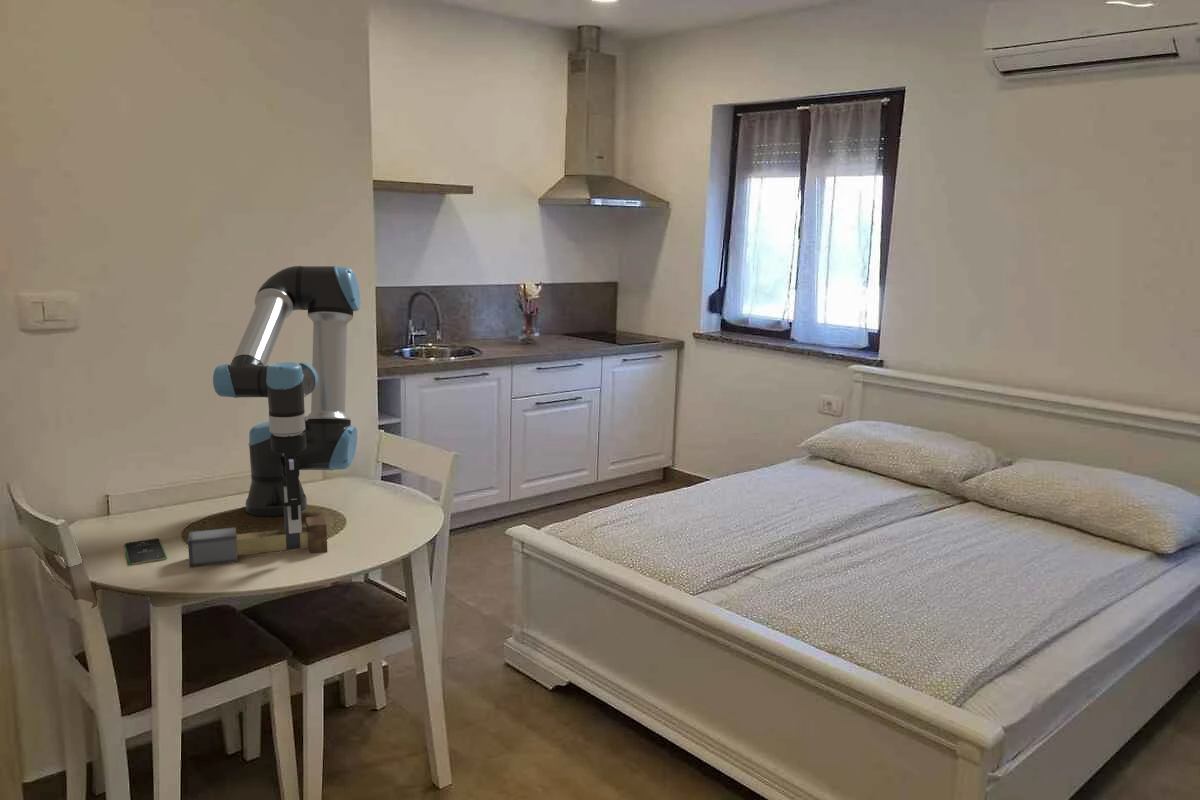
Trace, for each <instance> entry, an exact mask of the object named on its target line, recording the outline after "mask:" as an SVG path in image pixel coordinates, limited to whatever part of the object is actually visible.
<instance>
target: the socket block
mask: <svg viewBox="0 0 1200 800" xmlns="http://www.w3.org/2000/svg"><path fill="white" fill-rule="evenodd" d="M305 527H307V528H308V539H309V547H307V550H308V553H309V555H314V554H321V553H328V536H327V535H328V533H327V522H326V519H325V517H324V515H317V516H308V517H307V516H306V517H305Z"/></svg>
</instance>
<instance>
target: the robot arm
mask: <svg viewBox="0 0 1200 800" xmlns="http://www.w3.org/2000/svg"><path fill="white" fill-rule="evenodd" d="M254 306H255V308H254V310H253V312H252V315H251V317H250V319H249V322H248V324H247V325H246V328H245V331H244V333H243V335H242V336H241V337H242V338H241V339H240V343H239V345H238V346H237V349H236V352H235V353H234V356H233V358H232V360H231V362H230V364H228V363H225V364H219V365H218V366H216V367H215V369H214V371H213V375H212V385H213V388H214V391H215V393H216V394H217V395H218V397H219V396H220V397H222V398H223V397H225V398H235V399H236V398H239V399H240V398H267V402H268V421H266V422H261V423H257V424H256V425H254V426H253V427H251V428H250V430H249V433H248V434H249V437H248V441H249V443H248V447H249V461H250V463H249V464H250V479H251V480H250V481H251V483H250V487H249V491H248V494H247V498H246V501H245V512H246V513H247V514H249V515H253V516H258V517H278V516H284V507H286V506H287V509H288V526H289V534H291V533H300V532H302V528H303V527H302V523H303V522H302V510H304V509H306V507H307V505H308V503H307V502H308V501H307V496H306V494H305V492H304V489H303V485H302V483H301V481H300V478H299V477H300V471H331V472H333V471H338V470H346V469H348V468H349V467H351V465H352V463H353V461H354V459H355V455H356V451H357V445H358V429H357V427H356V426H355V425H353V424H351V422H352V420H351V418H350V417H349V416H348V414H347V413H346V386H347V384H346V383H347V380H346V378H347V377H346V375H347V347H348V345H347V344H348V343H347V342H348V341H347V339H348V336H347V335H348V324H349V322H351V321H352V320H353V319H354V312H358V311H360V310H361V309H360V308H361V293H360V287H359V283H358V279H357V276H356V274H355V272H354V270H353V269H351V268H350V267H345V266H336V265H334V266H333V265H332V266H330V265H329V266H328V265H327V266H326V265H325V266H320V265H319V266H314V265H313V266H309V265H308V266H306V265H303V266H302V265H294V266H288V267H285V268H283V269H281V270H278V271H277V272H276V273H274V274H273V275H271V276H270V277H269V278H267V279H266V280H265V282H264V283H263V284H262V285H261V286H260V287H259V288H258V291H256V294H255V297H254ZM293 311H307V317H308V318H309V319H310V320H311V321H312V324H313V327H312V356H311V357H312V361H311V362H312V365H311V364H309V363H307V362H290V361H289V362H288V361H287V362H286V361H285V362H275V363H272V364H268V362H269V361H270V357H271V355H272V353H273V349H274V347H275V344H276V343H277V341H278V337H279V335H280V333H281V330H282V328H283V324H284V322H285V320H286V319H287V318H288V317H290V316H291V314H292V313H293ZM310 394H311V399H310V400H311V402H310V404H311V405H310V407H311V408H310V413H309V414H308V415H307V416H305V411H306V410H305V397H306V396H308V395H310Z"/></svg>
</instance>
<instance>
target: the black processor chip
mask: <svg viewBox="0 0 1200 800" xmlns="http://www.w3.org/2000/svg"><path fill="white" fill-rule="evenodd" d="M123 549H124V551H125V556H126V559H127V564H128V565H129V566H137V565H143V564H149V563H154V562H160V561H161V562H162V561H167V559H168V556H167V554H166V552H165V548H164V547H163V544H162V542H161V539H160V538H157V537H156V538H150V539H143V540H137V541H130V542H125V543H124V544H123Z"/></svg>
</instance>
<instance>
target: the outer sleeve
mask: <svg viewBox="0 0 1200 800" xmlns="http://www.w3.org/2000/svg"><path fill="white" fill-rule="evenodd" d="M236 535H237V529H236V527H226V528H225V527H223V528H218V529H217V528H216V529H207V530H206V529H204V530H197V531H189V532H188V537H187V538H188V539H187V547H188V558H189V559H188V562H189V569H191V568H200V567H207V566H217V565H225V564H234V563H238V555H237V546H236Z"/></svg>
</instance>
